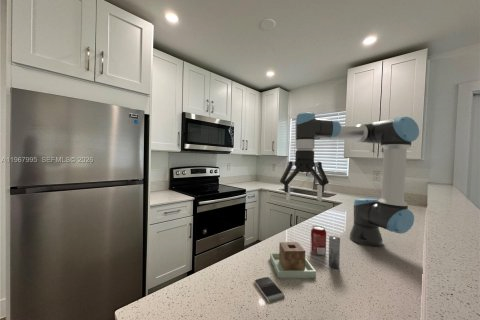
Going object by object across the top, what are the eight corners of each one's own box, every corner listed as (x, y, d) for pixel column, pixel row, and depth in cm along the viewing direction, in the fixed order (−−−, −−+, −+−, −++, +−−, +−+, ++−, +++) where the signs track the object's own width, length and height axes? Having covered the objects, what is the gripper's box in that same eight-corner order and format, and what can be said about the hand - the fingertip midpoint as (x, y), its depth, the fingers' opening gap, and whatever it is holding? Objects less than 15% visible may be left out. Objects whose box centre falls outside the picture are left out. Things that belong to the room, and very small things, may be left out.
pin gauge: (335, 264, 82) (336, 235, 82) (341, 269, 78) (342, 239, 78) (326, 264, 82) (327, 235, 82) (331, 269, 78) (332, 239, 78)
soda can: (327, 257, 88) (327, 230, 88) (311, 255, 89) (312, 229, 89) (324, 250, 95) (324, 225, 94) (309, 248, 96) (309, 224, 96)
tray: (301, 258, 86) (301, 252, 86) (315, 277, 72) (316, 271, 72) (270, 258, 86) (270, 253, 86) (278, 278, 71) (278, 271, 71)
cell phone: (268, 279, 71) (268, 275, 71) (285, 300, 61) (285, 295, 61) (253, 283, 69) (253, 279, 69) (268, 305, 59) (268, 300, 59)
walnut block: (297, 260, 83) (297, 242, 83) (304, 271, 75) (305, 250, 75) (279, 260, 83) (279, 242, 83) (284, 271, 75) (285, 251, 75)
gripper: (328, 151, 86) (327, 198, 87) (273, 150, 85) (272, 198, 85) (338, 150, 79) (337, 202, 79) (277, 149, 77) (276, 202, 78)
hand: (303, 200), depth 82 cm, fingers open, 13 cm apart
